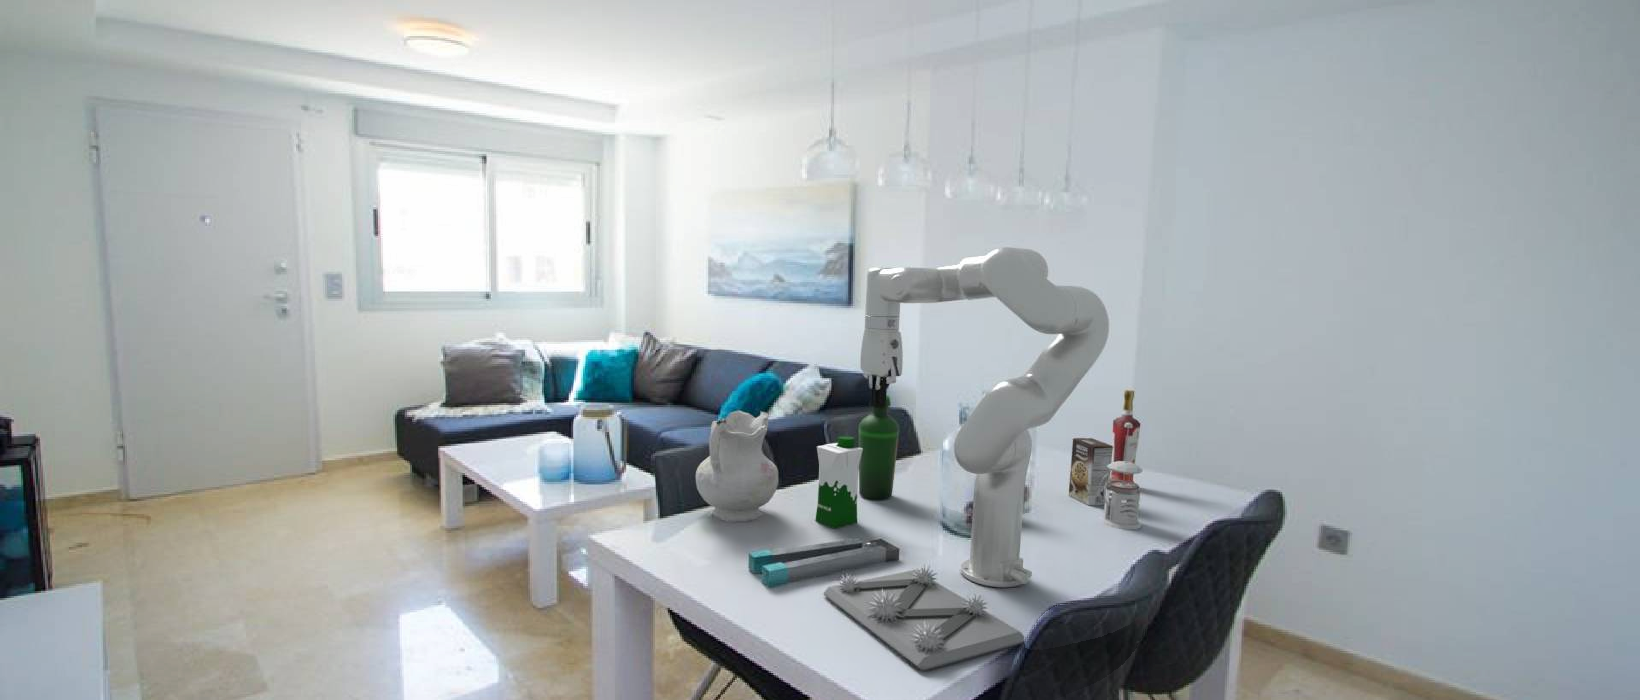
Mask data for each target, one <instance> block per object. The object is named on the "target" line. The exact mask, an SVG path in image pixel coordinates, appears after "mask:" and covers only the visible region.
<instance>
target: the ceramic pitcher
mask: <svg viewBox="0 0 1640 700" xmlns="http://www.w3.org/2000/svg"><path fill="white" fill-rule="evenodd" d="M759 412H760V414H759V415H758V416H757V417H754V416H753V415H752V414H750V413H749V412H744V411H742V410H736V411H735V410H734V411H733V412H729V413H728V414H727V416H726V417H725V418H722V417H721V418H719V419H717V420H713V421H712V422H711V426H710V435H709V445H708V447H709V448H708V449H709V456H708V457H707V458H705V459H704V460H703V461H702V462H700V464H699V465H698V467H697V468H696V471H695V484H696V490H697V491H698V493H699V495H700V496H701V498H702V499H703V501H705V502H706V503H707V504H708V505H709V506H711V507H713V510H712V511H711V512H712V516H713V518H715V519H716V520H720V521H727V522H730V523H731V522H732V523H738V522H748V521H749V522H750V521H754V520H755V519H757V518H759V517H760V516H761V514H762V513H763V510H761V508H760V507H763V506H765V505H766V504H767V503H769V502H770V501H771V499H772V498H773V496H774V495H775V493H776V491H777V489H778V484H779V469H778V468H777V465H775V464H774V462H773V461H771V460H770V459H769V458H768V457H767V456H765V454H764V451H763V449H762V447H763V442H764V439H765V436H766V434H767V432H768V426H769V413H768V412H765V411H762V410H760V411H759Z"/></svg>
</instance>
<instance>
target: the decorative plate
mask: <svg viewBox="0 0 1640 700" xmlns="http://www.w3.org/2000/svg"><path fill="white" fill-rule="evenodd" d="M925 565H926V564H923V566H922V565H920V569H919V568H918V567H917V566H915V568H913V569H911V570H908V571H902V572H898V573H892V574H886V575H883V576H877V577H871V578H868V579H867V578H866V579H863V580H858V578H859V577H857V578H855V575H856V574H854V575H853V576H852V578H851V573H849V575H848V574H846V577H845V576H844V575H843V574H842V575H841V576H842V577H839V579H840V581H836V582H837V583H838V585H832V586H828V587H827V588H826V589H825V590H824V592H823V595H824V596H825V597H826V598H827V599H828V600H830V601H831V602H833V603H834V604H835V605H836V606H837V607H838V608H840V609H841V610H843V611H844V612H845V613H847V614H848V615H849V616H850V617H852V618H853V619H854V620H856V621H857V622H858V623H859V624H861V625H862V626H863V627H865V628H866V629H867V630H868V631H870V632H871V633H873V634H874V635H875V636H876V637H877V638H879V639H880V640H882V641H883V642H884V643H885V644H886V645H888V646H889V647H891V648H892V649H893V650H895V651H896V652H897V653H898V654H900V655H901V656H903V657H904V658H905V659H906V660H908V661H909V663H911V664H912V665H914V666H915V667H916V668H918V669H919V670H920V671H922V672H926V671H929V670H932V669H936V668H940V667H943V666H946V665H949V664H950V665H951V664H954V663H957V662H961V661H964V660H965V661H966V660H968V659H972V658H975V657H979V656H983V655H985V654H989V653H993V652H997V651H1001V650H1003V649H1007V648H1011V647H1014V646H1018V645H1021V644H1022V643H1024V642H1025V635H1024V634H1023V633H1022V632H1021V631H1020V630H1018V629H1017V628H1015V627H1013V626H1011V625H1010V624H1008V623H1006V622H1005V621H1003V620H1001V619H999V618H997V616H994V615H993V614H991V613H990V612H988V611H986V610H985V609H987V606H985V605H986V604H988V601H986V602H984V600H985V598H984V597H983V598H981V595H980V594H979V596H978V597H976V594H975V593H974V594H973V595H971V598H970V597H969V596H968V595H966V597H967V598H966V597H962V596H961V595H959V594H957V593H955V592H954V591H952V590H951V589H949V588H947V587H945V586H943V585H942V584H940V583H939V582H936V581H935V580H938V578H937V577H934V576H935V575H937V574H938V573H937V572H936V573H933V572H934V568H932V569H930V567H931V565H929V566H928V567H927V568H926V567H925ZM980 598H981V599H980Z"/></svg>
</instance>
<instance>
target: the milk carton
mask: <svg viewBox="0 0 1640 700" xmlns="http://www.w3.org/2000/svg"><path fill="white" fill-rule="evenodd" d="M855 442H856V437H854V436H853V435H839V436H838V437H837V442H833V443H826V444H824V445H818V446H816V451H817V457H818V458H817V459H818V465H819V468H818V494H817V503H816V504H817V505H816V506H817V507H816V512H815V522H817V523H819V524H822V525H824V526H827V527H829V528H832V529H834V530H836V529H841V528H844V527H847V526H848V527H849V526H851V525H855V524H858V491H859V490H858V489H859V463H860V459H861V454H862V450H863V449H862V448H859V446H856V445H855V444H856V443H855Z"/></svg>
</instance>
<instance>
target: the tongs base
mask: <svg viewBox="0 0 1640 700" xmlns="http://www.w3.org/2000/svg"><path fill="white" fill-rule="evenodd" d="M870 541H874V542H876V543H877V547H872V548H868V547H865V546H864V547H862V548H859V549H854V550H849V551H843V552H838V553H833V554H828V555H823V556H818V557H813V558H808V559H802V560H797V561H792V562H787V563H781V562H780V563H774V564H769V565H764V566H762V572H761V583H762V584H763V585H765V586H766V587H767V588H769V589H770V588H775V587H781V586H785V585H788V584H790V583H795V582H801V581H806V580H811V579H815V578H819V577H825V576H828V575H829V576H830V575H833V574H838V573H842V572H848V571H853V570H858V569H861V568H865V567H870V566H871V567H872V566H875V565H880V564H886V563H890V562H895V561H899V560H900V548H899V547H898V546H895V545H894V544H892V543H890V542H889V541H887V540H885V539H883V538H877V539H870Z"/></svg>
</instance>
